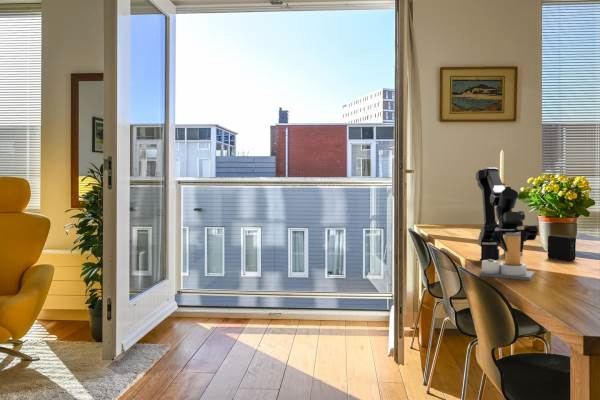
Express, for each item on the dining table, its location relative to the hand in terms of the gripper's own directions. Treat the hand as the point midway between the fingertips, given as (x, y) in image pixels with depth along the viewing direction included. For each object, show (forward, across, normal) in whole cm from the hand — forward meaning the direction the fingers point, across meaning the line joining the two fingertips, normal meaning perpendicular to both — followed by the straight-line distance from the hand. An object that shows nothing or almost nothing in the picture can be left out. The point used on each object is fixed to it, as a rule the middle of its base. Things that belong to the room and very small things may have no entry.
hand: (513, 251), depth 178 cm
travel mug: (-31, +14, +44) cm, 56 cm away
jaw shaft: (+4, 0, +6) cm, 7 cm away
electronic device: (-21, +30, +34) cm, 50 cm away
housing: (+5, -2, +8) cm, 9 cm away
